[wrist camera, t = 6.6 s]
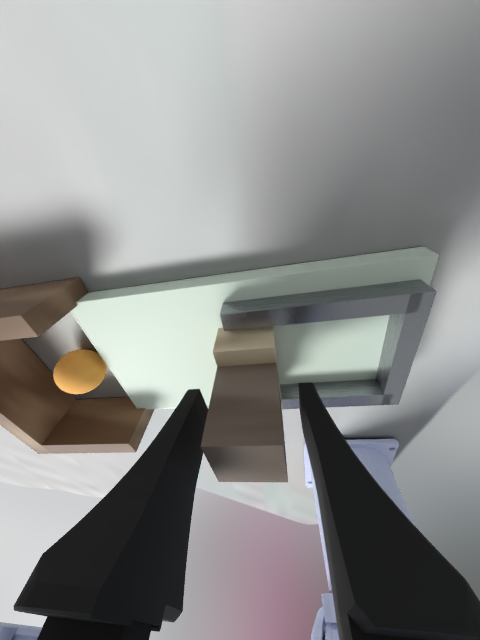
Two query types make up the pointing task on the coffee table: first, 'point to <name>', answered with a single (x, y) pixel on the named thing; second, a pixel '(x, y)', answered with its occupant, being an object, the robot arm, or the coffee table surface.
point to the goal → (40, 388)
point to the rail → (347, 303)
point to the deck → (204, 320)
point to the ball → (79, 371)
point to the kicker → (245, 409)
